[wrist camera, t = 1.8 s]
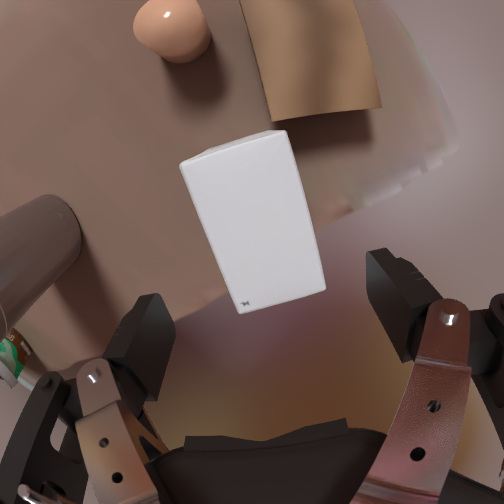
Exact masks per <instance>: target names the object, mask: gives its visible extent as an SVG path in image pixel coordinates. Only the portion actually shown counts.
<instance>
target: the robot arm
mask: <svg viewBox="0 0 504 504" xmlns="http://www.w3.org/2000/svg"><path fill="white" fill-rule="evenodd" d="M81 240H82V238H81V231H80V228H79V224H78V222H77V219H76V217H75V215H74V214H73V212H72V211H71V209H70V208H69V207H68V205H67V204H66V203H65V202H63V201H62V200H61V199H59V198H57V197H55V196H53V195H43V196H40V197H38V198H36V199H34V200H32V201H30V202H28V203H26V204H24V205H22V206H20V207H18V208H16V209H14V210H13V211H11V212H9V213H7V214H5V215H4V216H2V217H0V343H1V342H2V341H3V339H4V338H5V337H6V335H7V334H8V333H9V332H10V330H11V329H12V328H13V327H14V326H15V324H16V323H17V322H18V321H19V320H20V319H21V317H22V316H23V315H24V314H25V313H26V312H27V311H28V309H29V308H30V307H31V306H32V305H33V304H34V303H35V302H36V301H37V300H38V298H39V297H40V296H41V295H42V294H43V293H44V292H45V291H46V290H47V289H48V288H49V287H50V286H51V285H52V284H53V283H54V282H55V281H56V280H57V279H58V278H59V277H60V276H61V275H62V274H63V273H64V272H65V271H66V270H67V269H68V268H69V267H70V266H71V265H72V264H73V263H74V262H75V261H76V259H77V258H78V256H79V254H80V250H81ZM366 289H367V295H368V299H369V301H370V303H371V305H372V307H373V309H374V311H375V312H376V314H377V316H378V318H379V320H380V321H381V323H382V325H383V327H384V329H385V331H386V333H387V334H388V336H389V338H390V340H391V342H392V344H393V346H394V348H395V350H396V352H397V354H398V356H399V358H400V360H401V362H402V363H404V362H407V361H410V360H413V361H414V366H413V369H412V372H411V375H410V378H409V381H408V385H407V387H406V390H405V393H404V395H403V398H402V401H401V404H400V406H399V409H398V411H397V414H396V416H395V419H394V421H393V423H392V426H391V428H390V430H389V432H388V435H387V434H385V433H382V432H378V431H375V430H371V429H365V428H348V426H347V422H346V418H343V419H339V420H335V421H330V422H326V423H321V424H316V425H311V426H306V427H303V428H300V429H298V430H295V431H292V432H290V433H287V434H284V435H282V436H279V437H276V438H273V439H270V440H267V441H261V442H260V441H252V440H245V439H239V438H232V437H227V436H186V437H185V443H184V447H180V448H177V449H173V450H171V451H170V450H169V449H168V448H167V446H166V445H165V443H164V442H163V440H162V438H161V436H160V435H159V433H158V431H157V429H156V428H155V426H154V424H153V422H152V420H151V418H150V416H149V415H148V412H147V411H146V410H145V408H144V407H143V405H144V402H145V401H157V399H158V395H159V392H160V388H161V385H162V381H163V378H164V375H165V371H166V367H167V364H168V361H169V357H170V354H171V351H172V348H173V344H174V341H175V338H176V329H175V325H174V322H173V320H172V318H171V316H170V314H169V312H168V310H167V308H166V305H165V303H164V301H163V299H162V297H161V295H160V294H158V293H154V294H148V295H142V296H140V297H139V298H138V300H137V302H136V303H135V305H134V307H133V309H131V310H130V311H129V312H128V313H127V314H126V315H125V316H124V317H123V319H122V320H121V322H120V324H119V326H118V328H117V329H116V331H115V333H114V335H113V337H112V339H111V340H110V342H109V344H108V346H107V348H106V350H105V352H104V354H103V356H102V358H101V359H95V360H92V361H90V362H88V363H87V364H85V365H84V366H83V367H82V368H81V369H80V371H79V373H78V375H77V378H74V379H70V380H67V381H65V380H64V379H63V378H62V376H61V375H60V374H59V373H58V372H56V371H51V372H48V373H46V374H45V375H43V376H42V377H41V378H40V379H39V380H38V382H37V383H36V385H35V387H34V389H33V391H32V393H31V395H30V397H29V399H28V401H27V403H26V405H25V407H24V409H23V411H22V413H21V415H20V417H19V419H18V422H17V424H16V426H15V428H14V431H13V433H12V435H11V438H10V440H9V442H8V445H7V447H6V450H5V452H4V455H3V458H2V460H1V463H0V504H83V499H84V495H85V490H86V485H87V481H88V477H89V478H90V481H91V484H92V487H93V490H94V492H95V495H96V498H97V500H98V503H99V504H504V459H503V462H502V466H501V472H500V473H499V480H500V482H502V484H501V489H500V491H497V490H495V489H492V488H490V487H488V486H485V485H483V484H481V483H478V482H476V481H474V480H472V479H470V478H468V477H465V476H463V475H462V474H459V473H457V472H455V471H453V470H451V469H450V465H451V462H452V459H453V456H454V453H455V450H456V446H457V443H458V439H459V435H460V431H461V427H462V423H463V419H464V414H465V409H466V404H467V398H468V393H469V386H470V380H471V377H472V379H473V381H474V383H475V385H476V387H477V389H478V391H479V393H480V395H481V397H482V399H483V401H484V404H485V405H486V408H487V410H488V412H489V415H490V417H491V419H492V422H493V424H494V426H495V429H496V431H497V434H498V436H499V438H500V441H501V444H502V447H503V449H504V293H502V294H497V295H495V296H494V297H493V298H492V299H491V302H490V305H489V309H483V310H473V311H469V309H468V308H467V306H466V305H465V304H463V303H462V302H460V301H458V300H455V299H450V298H443V297H442V296H441V295H440V294H439V293H438V292H437V290H436V289H435V288H434V287H433V286H432V285H431V284H430V282H429V281H428V280H427V279H426V278H424V276H423V275H422V274H421V273H420V272H419V271H418V269H417V268H416V267H415V266H414V265H413V264H412V263H411V262H409V261H407V260H405V259H403V258H401V257H400V258H395V257H394V256H393V255H392V254H391V252H390V251H389V250H388V249H387V248H381V249H377V250H373V251H368V252H367V253H366ZM57 418H59V419H60V420H61V421H62V422H63V423H64V424H65V425H66V426H67V430H66V433H65V436H64V438H63V441H62V444H61V447H60V450H59V452H58V451H57V450H55V449H54V448H53V447H52V445H51V442H50V435H51V433H52V430H53V428H54V425H55V422H56V420H57Z"/></svg>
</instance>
